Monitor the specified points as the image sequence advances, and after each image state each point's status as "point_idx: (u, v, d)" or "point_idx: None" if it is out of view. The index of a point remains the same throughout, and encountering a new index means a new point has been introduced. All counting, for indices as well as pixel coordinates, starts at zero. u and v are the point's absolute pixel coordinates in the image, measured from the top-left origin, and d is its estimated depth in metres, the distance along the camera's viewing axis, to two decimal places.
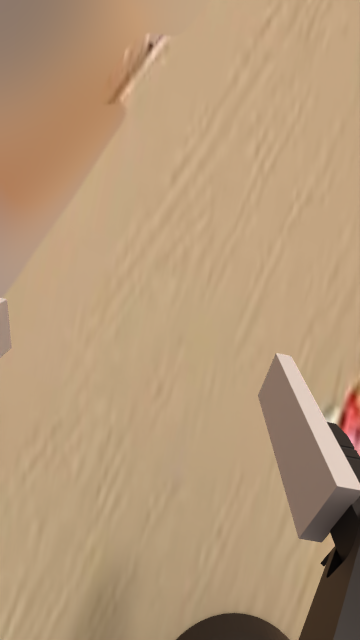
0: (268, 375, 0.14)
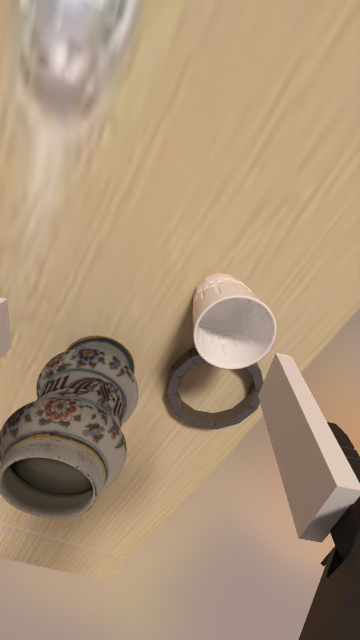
0: (268, 375, 0.14)
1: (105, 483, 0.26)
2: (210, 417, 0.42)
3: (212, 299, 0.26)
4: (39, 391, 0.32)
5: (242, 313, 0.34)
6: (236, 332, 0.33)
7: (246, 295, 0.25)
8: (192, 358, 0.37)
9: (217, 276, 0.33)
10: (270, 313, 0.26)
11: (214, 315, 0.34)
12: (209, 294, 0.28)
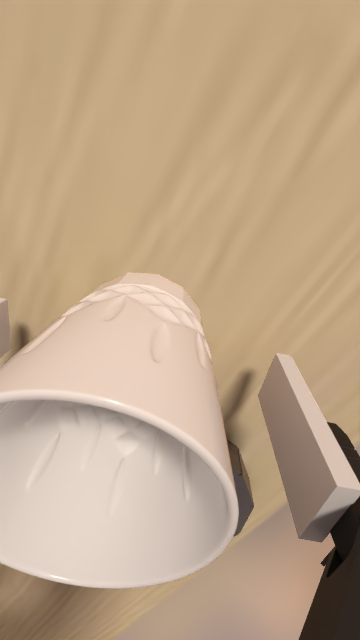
0: (268, 375, 0.14)
1: None
2: None
3: None
4: None
5: None
6: None
7: (88, 384, 0.06)
8: None
9: (118, 280, 0.13)
10: (204, 458, 0.06)
11: None
12: None
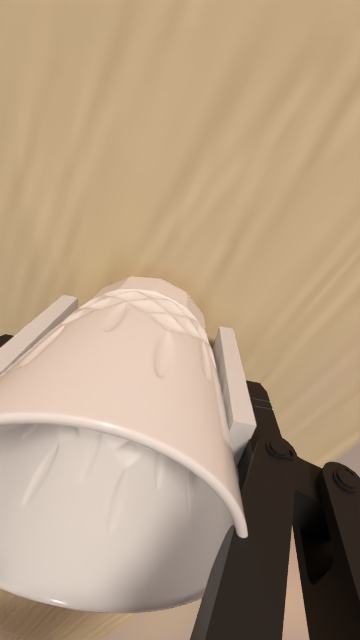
0: (213, 347, 0.15)
1: None
2: None
3: None
4: None
5: None
6: None
7: (87, 405, 0.05)
8: None
9: (120, 285, 0.13)
10: (213, 485, 0.05)
11: None
12: (17, 360, 0.08)
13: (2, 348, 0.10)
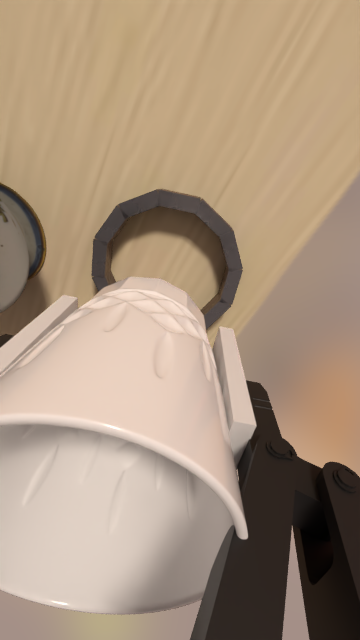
0: (213, 347, 0.15)
1: None
2: None
3: None
4: None
5: None
6: None
7: (86, 406, 0.05)
8: (120, 206, 0.23)
9: (120, 285, 0.13)
10: (213, 486, 0.05)
11: None
12: (16, 361, 0.08)
13: (2, 348, 0.10)
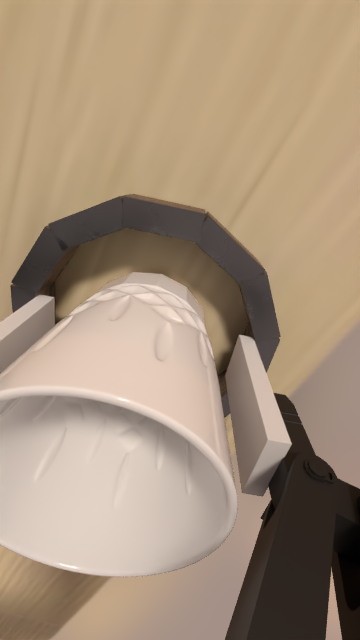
0: (232, 355, 0.15)
1: None
2: None
3: None
4: None
5: None
6: None
7: (95, 381, 0.06)
8: (52, 228, 0.12)
9: (124, 280, 0.13)
10: (205, 452, 0.06)
11: None
12: (30, 347, 0.09)
13: None
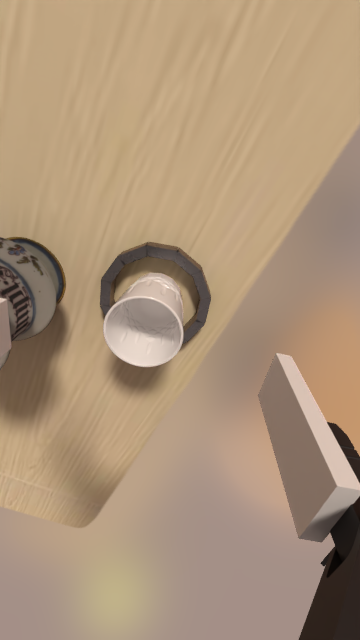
0: (268, 375, 0.14)
1: None
2: None
3: (119, 299, 0.27)
4: None
5: None
6: (166, 330, 0.34)
7: (147, 295, 0.26)
8: (120, 257, 0.32)
9: (146, 275, 0.33)
10: (173, 313, 0.26)
11: (149, 313, 0.35)
12: (123, 294, 0.28)
13: None
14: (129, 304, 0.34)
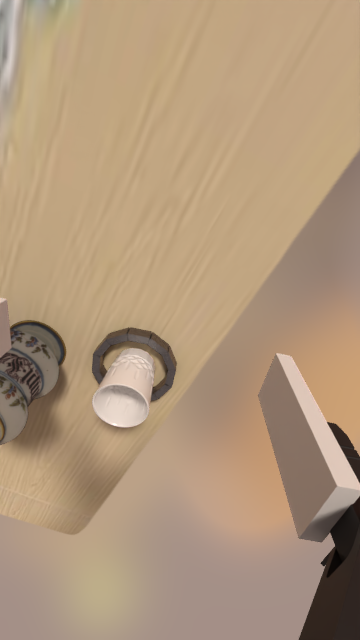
0: (268, 375, 0.14)
1: (6, 434, 0.33)
2: None
3: (104, 382, 0.38)
4: None
5: None
6: None
7: (124, 383, 0.37)
8: (107, 340, 0.43)
9: (127, 352, 0.44)
10: (141, 395, 0.37)
11: None
12: (107, 375, 0.39)
13: None
14: None
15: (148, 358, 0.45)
